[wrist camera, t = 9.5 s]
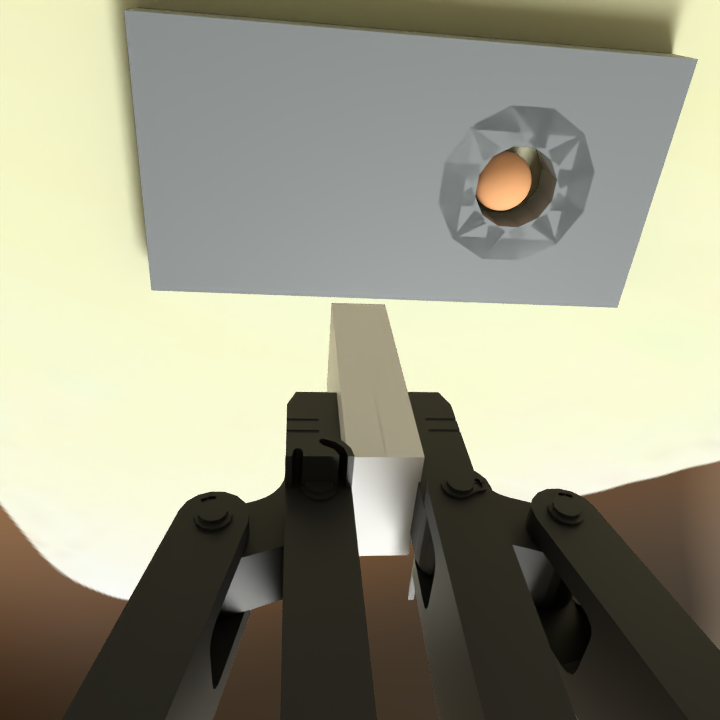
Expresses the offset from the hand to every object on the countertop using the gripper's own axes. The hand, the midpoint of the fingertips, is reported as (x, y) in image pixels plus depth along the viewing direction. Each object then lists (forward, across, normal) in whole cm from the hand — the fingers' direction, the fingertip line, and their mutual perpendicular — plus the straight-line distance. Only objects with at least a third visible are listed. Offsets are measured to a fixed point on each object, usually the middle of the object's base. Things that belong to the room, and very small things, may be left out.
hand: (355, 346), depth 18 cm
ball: (+19, +10, 0) cm, 21 cm away
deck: (+20, +4, 0) cm, 21 cm away
